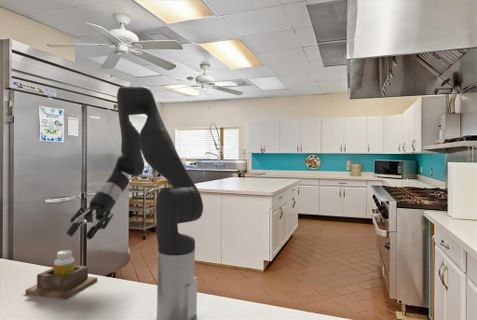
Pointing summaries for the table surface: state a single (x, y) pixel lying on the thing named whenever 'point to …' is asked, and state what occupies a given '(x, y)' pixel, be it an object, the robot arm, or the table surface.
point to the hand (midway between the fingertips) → (78, 236)
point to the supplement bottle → (64, 263)
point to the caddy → (61, 283)
